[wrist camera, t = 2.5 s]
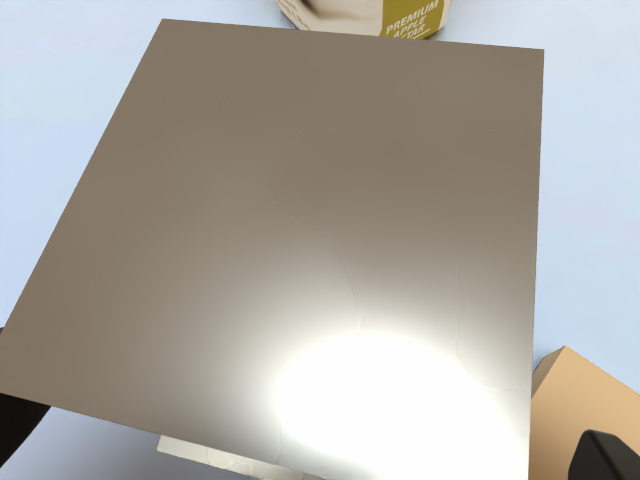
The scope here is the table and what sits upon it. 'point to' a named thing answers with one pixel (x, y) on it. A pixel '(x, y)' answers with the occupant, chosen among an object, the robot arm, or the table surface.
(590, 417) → the stand
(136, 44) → the table surface
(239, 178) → the block
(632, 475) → the robot arm
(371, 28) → the juice carton
